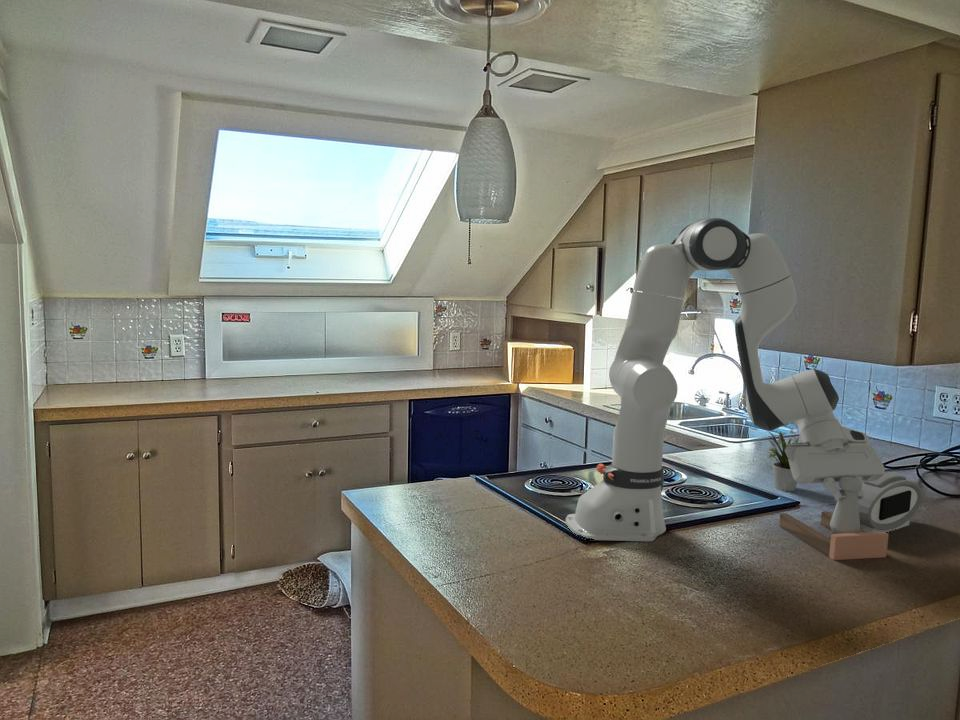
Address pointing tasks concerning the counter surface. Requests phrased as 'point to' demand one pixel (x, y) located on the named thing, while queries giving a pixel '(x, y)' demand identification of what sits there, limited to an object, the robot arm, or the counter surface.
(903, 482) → the alarm clock
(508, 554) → the counter surface
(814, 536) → the walnut channel
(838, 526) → the salt shaker
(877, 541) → the block
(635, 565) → the counter surface
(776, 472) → the house plant
